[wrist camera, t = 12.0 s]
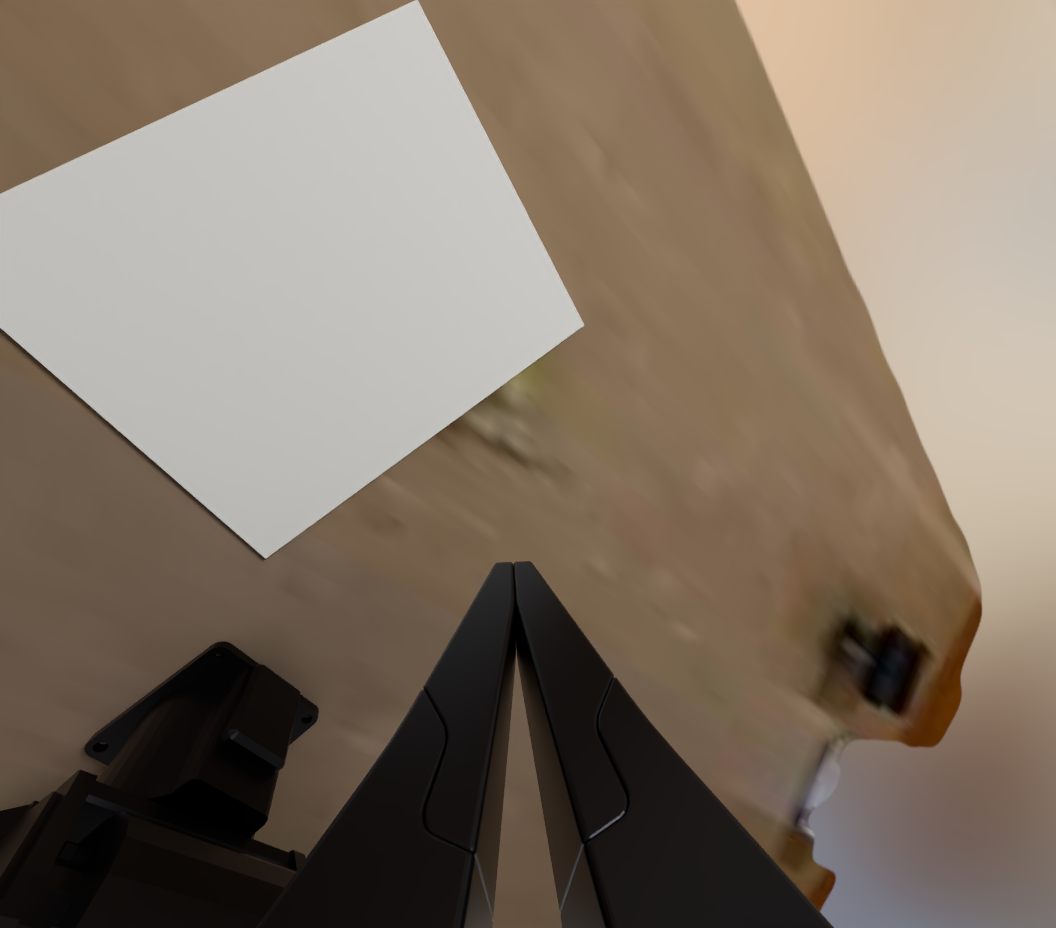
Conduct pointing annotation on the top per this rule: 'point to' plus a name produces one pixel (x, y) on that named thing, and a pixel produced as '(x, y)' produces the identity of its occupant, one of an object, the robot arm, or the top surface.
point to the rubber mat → (287, 277)
